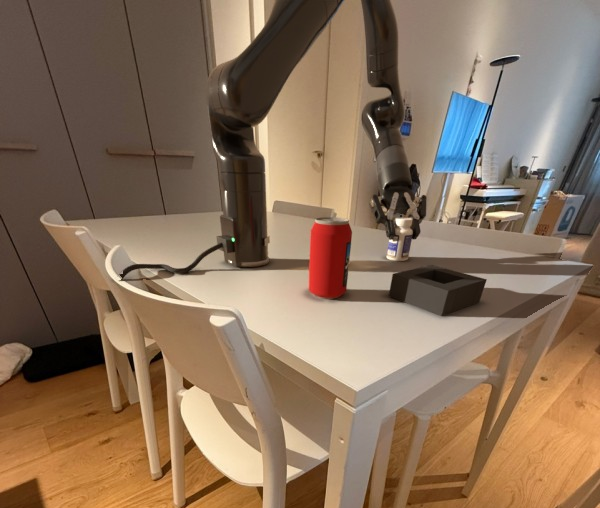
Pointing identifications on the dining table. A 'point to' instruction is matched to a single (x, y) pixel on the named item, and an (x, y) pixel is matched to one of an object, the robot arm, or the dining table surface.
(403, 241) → the pill bottle
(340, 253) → the beverage can
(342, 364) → the dining table surface
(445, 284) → the socket pad
